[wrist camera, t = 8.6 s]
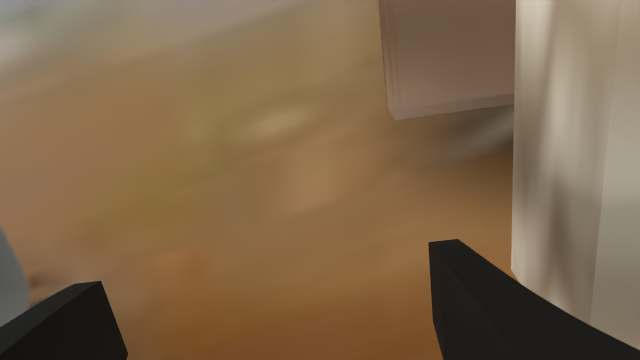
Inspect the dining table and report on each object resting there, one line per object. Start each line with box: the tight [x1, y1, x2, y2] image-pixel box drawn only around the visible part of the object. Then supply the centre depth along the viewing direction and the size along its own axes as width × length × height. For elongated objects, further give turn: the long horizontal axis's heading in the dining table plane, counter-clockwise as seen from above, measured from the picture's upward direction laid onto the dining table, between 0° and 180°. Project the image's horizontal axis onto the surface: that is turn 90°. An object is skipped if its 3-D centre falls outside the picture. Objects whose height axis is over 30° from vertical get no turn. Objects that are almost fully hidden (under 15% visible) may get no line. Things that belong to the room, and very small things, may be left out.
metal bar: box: [511, 0, 640, 350], centre depth 11 cm, size 16×3×5 cm, turn 8°
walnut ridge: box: [378, 0, 516, 120], centre depth 15 cm, size 5×10×4 cm, turn 98°
